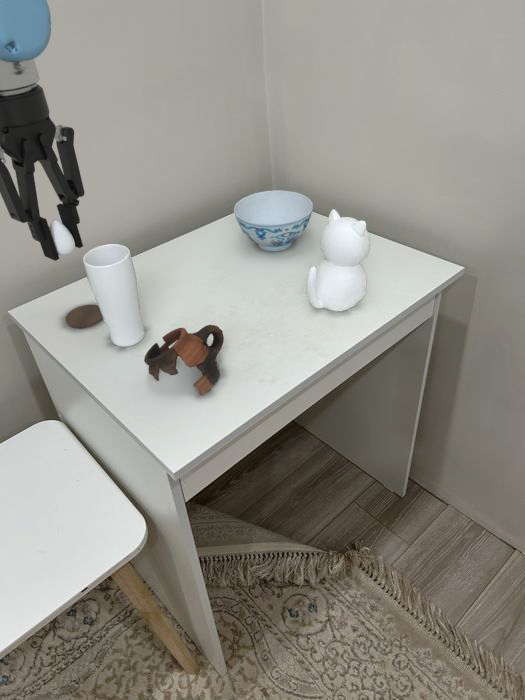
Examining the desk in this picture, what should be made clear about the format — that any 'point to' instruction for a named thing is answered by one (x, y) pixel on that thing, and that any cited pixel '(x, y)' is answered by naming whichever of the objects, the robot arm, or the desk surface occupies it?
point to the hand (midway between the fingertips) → (64, 250)
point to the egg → (61, 238)
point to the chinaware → (273, 217)
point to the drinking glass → (116, 292)
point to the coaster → (84, 316)
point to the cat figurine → (340, 265)
